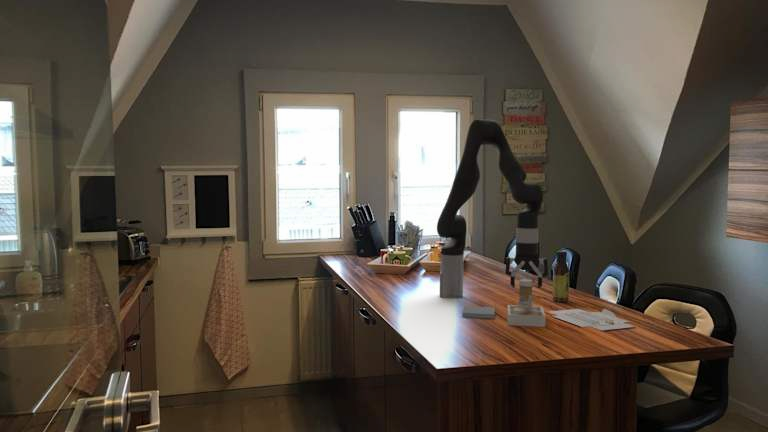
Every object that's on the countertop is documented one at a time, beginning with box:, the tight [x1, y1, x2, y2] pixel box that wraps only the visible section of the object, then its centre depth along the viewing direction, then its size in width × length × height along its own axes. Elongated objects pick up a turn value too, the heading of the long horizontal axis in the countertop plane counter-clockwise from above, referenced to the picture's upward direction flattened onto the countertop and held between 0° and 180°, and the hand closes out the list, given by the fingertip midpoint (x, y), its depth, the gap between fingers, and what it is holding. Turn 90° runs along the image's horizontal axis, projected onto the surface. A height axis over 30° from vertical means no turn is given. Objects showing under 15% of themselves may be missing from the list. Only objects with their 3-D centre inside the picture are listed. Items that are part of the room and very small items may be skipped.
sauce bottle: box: [552, 250, 570, 303], centre depth 239 cm, size 7×6×20 cm
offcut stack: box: [513, 308, 538, 316], centre depth 203 cm, size 9×5×5 cm, turn 80°
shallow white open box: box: [506, 304, 547, 328], centre depth 207 cm, size 12×15×4 cm
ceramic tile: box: [462, 305, 496, 319], centre depth 216 cm, size 11×11×2 cm
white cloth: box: [548, 307, 635, 332], centre depth 209 cm, size 20×28×4 cm
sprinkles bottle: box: [518, 278, 534, 308], centre depth 210 cm, size 5×5×13 cm
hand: (526, 287), depth 210 cm, fingers open, 8 cm apart
